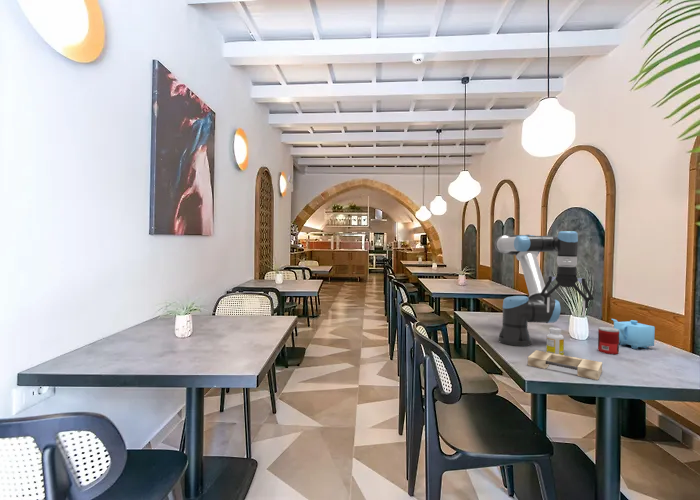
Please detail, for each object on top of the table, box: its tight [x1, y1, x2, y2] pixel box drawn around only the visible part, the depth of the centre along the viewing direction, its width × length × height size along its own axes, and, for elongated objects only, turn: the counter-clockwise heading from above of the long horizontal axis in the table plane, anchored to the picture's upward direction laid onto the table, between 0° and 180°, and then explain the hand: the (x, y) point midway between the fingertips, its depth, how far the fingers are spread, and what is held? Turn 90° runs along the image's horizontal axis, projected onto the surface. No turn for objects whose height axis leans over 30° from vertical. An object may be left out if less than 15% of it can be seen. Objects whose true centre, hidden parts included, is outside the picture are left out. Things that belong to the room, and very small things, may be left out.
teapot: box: [611, 318, 656, 350], centre depth 183 cm, size 18×16×13 cm
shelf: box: [527, 349, 603, 381], centre depth 146 cm, size 24×13×4 cm, turn 49°
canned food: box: [597, 326, 620, 355], centre depth 170 cm, size 8×8×11 cm
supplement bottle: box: [545, 327, 565, 355], centre depth 160 cm, size 7×7×13 cm
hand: (565, 313), depth 161 cm, fingers open, 13 cm apart
